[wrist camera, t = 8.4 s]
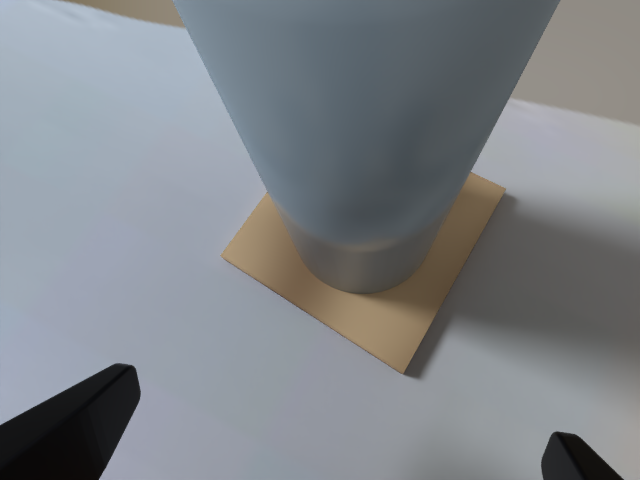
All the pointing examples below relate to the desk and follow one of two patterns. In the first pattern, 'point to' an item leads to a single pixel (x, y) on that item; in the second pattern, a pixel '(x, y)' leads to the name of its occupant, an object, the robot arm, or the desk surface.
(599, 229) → the desk surface
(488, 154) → the desk surface
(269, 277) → the coaster
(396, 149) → the tumbler
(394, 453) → the desk surface
